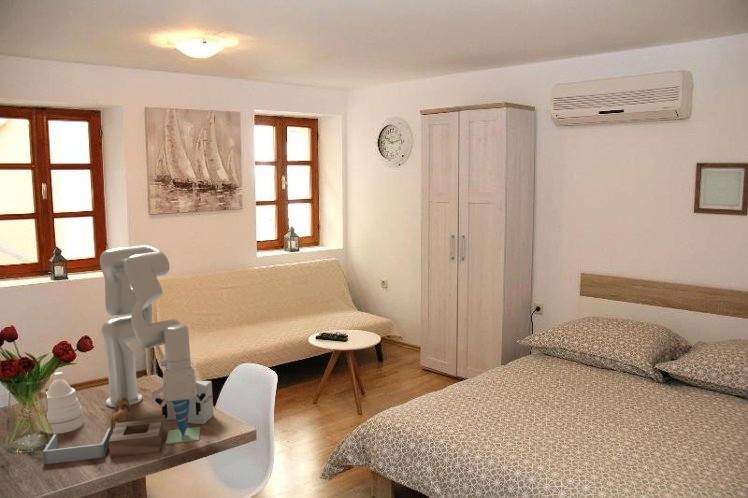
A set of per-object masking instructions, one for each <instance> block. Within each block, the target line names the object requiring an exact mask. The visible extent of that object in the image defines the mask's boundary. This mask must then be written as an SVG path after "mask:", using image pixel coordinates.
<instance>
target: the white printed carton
mask: <svg viewBox="0 0 748 498" xmlns="http://www.w3.org/2000/svg"><path fill="white" fill-rule="evenodd" d="M166 404H167V410H168V417H167V419H165V416H164V421H176V420H177V418H176V415H175V414H176V412H175V411H174V408H173V407H174V404H173V402H172V401H168V402H167V403H166Z"/></svg>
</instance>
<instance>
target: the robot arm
mask: <svg viewBox="0 0 748 498" xmlns="http://www.w3.org/2000/svg"><path fill="white" fill-rule="evenodd" d="M99 266H100V270H101V272H102V275H103V277H104V291H105V292H104V294H105V295H104V296H105V299H104V301H105V310H106V312H107V314H108V315H109V316H111V317H115V318H112V319H109V320H107V321H105V322H104V323H103V324H102V325H101V329H100V330H101V336H102V340H103V343H104V348H105V354H106V364H107V365H106V367H107V377H108V386H109V388H108V389H109V397H108V398H107V399H105V400H106V401H105V404H106V406H107V407H110V408H116V407H115V405H114V404H115V403H116V402H117V400H118V399H119V397H125V398H127V400H128V402H129V405H130V406H133V405H136V404H139V403H140V402H141V401H142V400H143V395H142V394H141V393H139V392H138V384H137V383H138V382H137V369H136V357H135V352H134V351H133V349H132V348H131V347H129V346H128V344H127V343H131V342H136V341H137V342H138V343H139V345H140V346H141V347H142V348H145V349H150V348H151V349H152V348H155V347H159V346H164V358H165V359H164V360H163V361H161V362H160V366H161V367H165V368H164V369H163V371H162V372H163V373H162V386H160V387H159V388H158V389H156V390H153V391H152V392H151V397H152V398H153V400H154V401H155V403H156V404H158V405H159V406H160V407H161V414H162V415H161V416H165V418H164V420H165V419H167V417H168V410H167V404H166V403H167V402H168V401H180V400H189V399H194V400H195V401H196V415H199V412H200V411H201V404H200V402H201V401H202V400H203V398H204V397H205V396H206V394H207V391H208V387H207V386H204V385H202V384H199V383H196V381H197V376H196V372H195V369H194V365H193V364H192V363H191V362H192V361H191V348H190V345H191V344H190V335H189V327H188V325H186V324H183V323H181V321H179V320H177V319H174V318H173V319H168V320H161V321H156V322H153V304H154V302H156V301H158V300H159V299H160V298H161V297H162V295H163V288H162V286H161V284H160V282H159V279H158V277H161V276H165V275H167V274H168V273H169V271H170V262H169V259H168V257H167V256H166V254H165V253H164V252H163V251H161V250H159V249H157V248H155V247H153V246H150V245H149V244H148V245H147V244H145V245H133V246H124V247H123V246H122V247H115V248H111V249H110V248H109V249H106V250H104V251H102V252H101V255H100V257H99ZM116 317H117V318H116ZM197 388H198V389H201V390H203V392H202V394H201V395H200V396H199V395H198V394H197ZM159 394H162V397H163V399H162V398H161V397H160V396H159Z"/></svg>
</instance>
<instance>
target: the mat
mask: <svg viewBox="0 0 748 498" xmlns="http://www.w3.org/2000/svg"><path fill="white" fill-rule="evenodd" d="M200 433H201V426H196V427H195V426H194V427H187V429H186V431H185V434H184V435H182V434H181V431H180V429H179V428H178V429H169V430H168V432H167V436H166V440H165V445H173V444H179V443H180V444H181V443H182V444H183V443H190V442H197V441H200V435H201V434H200Z"/></svg>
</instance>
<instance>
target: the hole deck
mask: <svg viewBox="0 0 748 498" xmlns="http://www.w3.org/2000/svg"><path fill="white" fill-rule="evenodd" d="M164 433H165V432H164V421H163V417H162V418H161V417H160V418H153V419H144V420H143V419H142V420H134V421H129V422H124V421H123V423H117V422H116V423H115V428H114V430H113V433H112V435H111V437H110V440H109V448H108V450H109V458H115V457H125V456H134V455H142V454H149V453H150V454H151V453H157V452H158V453H159V452H160V449H161V446H162V442H163V437H164Z"/></svg>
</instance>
